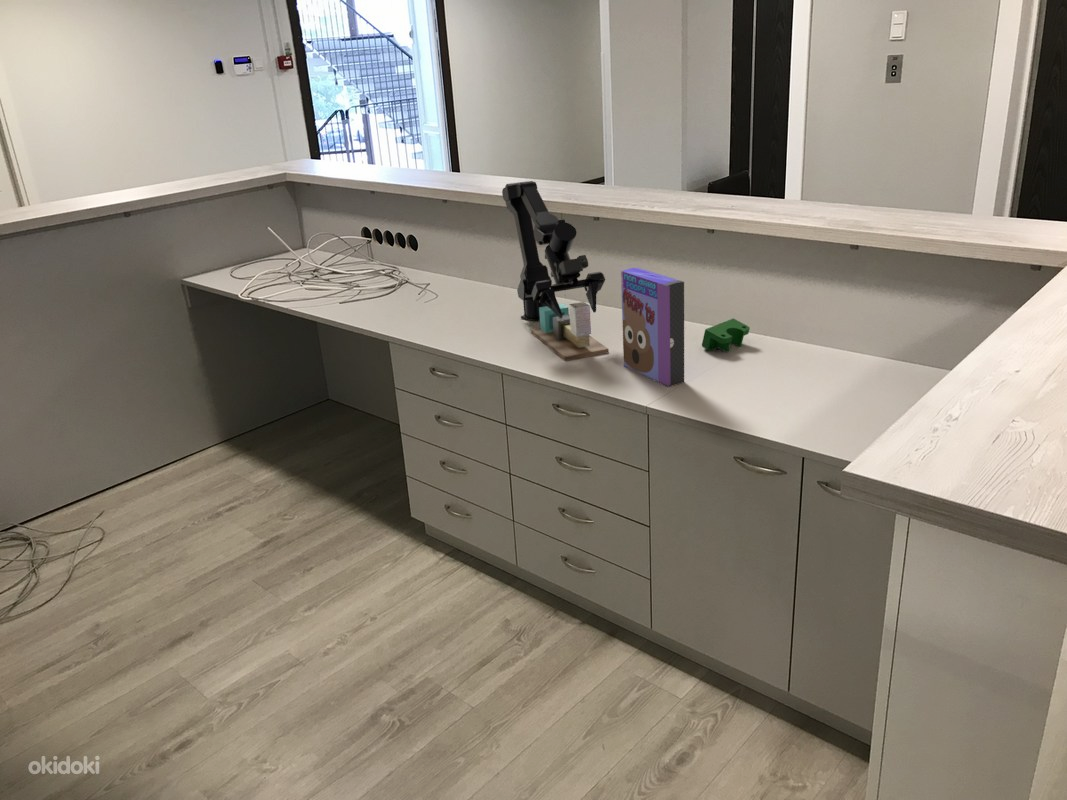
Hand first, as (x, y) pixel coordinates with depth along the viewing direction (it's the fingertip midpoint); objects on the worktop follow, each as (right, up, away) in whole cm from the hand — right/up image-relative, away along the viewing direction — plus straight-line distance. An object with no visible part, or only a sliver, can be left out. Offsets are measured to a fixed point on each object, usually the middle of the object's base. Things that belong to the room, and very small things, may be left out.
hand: (578, 314), depth 222 cm
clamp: (+37, -9, -1) cm, 38 cm away
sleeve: (-3, -5, +12) cm, 13 cm away
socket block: (-5, -2, +19) cm, 20 cm away
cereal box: (+17, -16, -14) cm, 27 cm away
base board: (-2, -6, +12) cm, 13 cm away
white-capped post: (-1, -5, +7) cm, 9 cm away
